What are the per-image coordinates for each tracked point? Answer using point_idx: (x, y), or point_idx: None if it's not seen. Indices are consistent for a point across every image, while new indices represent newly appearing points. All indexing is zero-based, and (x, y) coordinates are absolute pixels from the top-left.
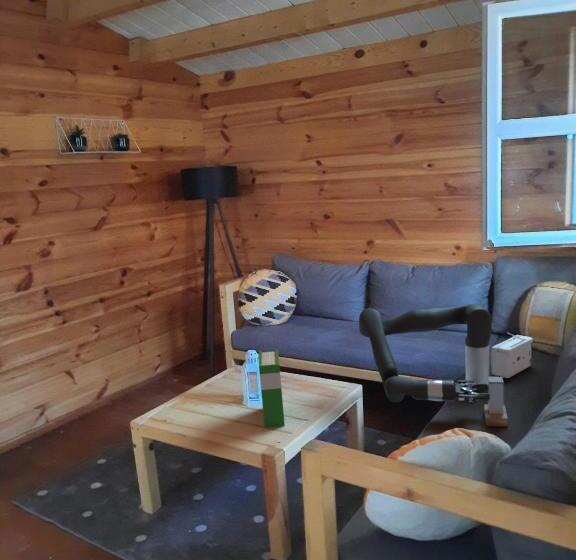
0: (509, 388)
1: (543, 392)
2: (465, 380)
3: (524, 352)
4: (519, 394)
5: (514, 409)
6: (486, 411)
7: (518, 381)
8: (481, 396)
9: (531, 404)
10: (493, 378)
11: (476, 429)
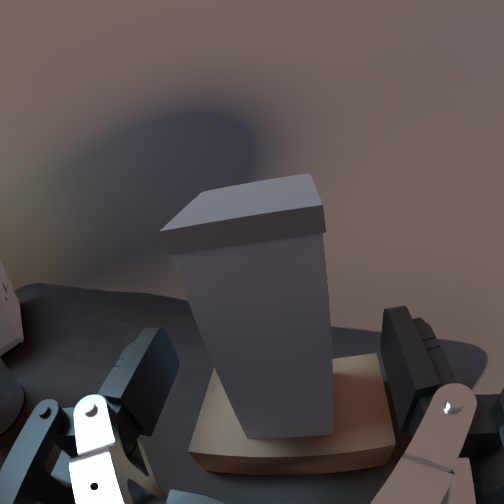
0: (61, 349)
1: (120, 295)
2: (7, 464)
3: (2, 274)
4: (103, 335)
5: (200, 359)
6: (300, 449)
7: (46, 327)
8: (444, 367)
9: (175, 318)
10: (224, 203)
11: (443, 498)
